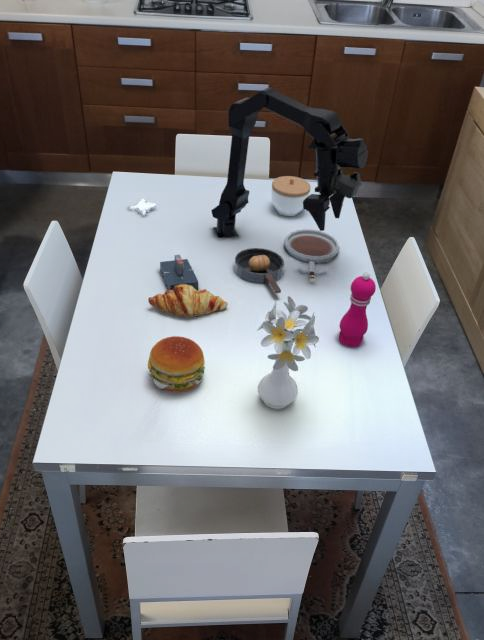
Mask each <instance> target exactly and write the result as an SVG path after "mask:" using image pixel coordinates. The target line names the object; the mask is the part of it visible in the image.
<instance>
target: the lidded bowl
mask: <svg viewBox="0 0 484 640" xmlns="http://www.w3.org/2000/svg"><path fill="white" fill-rule="evenodd" d="M311 188H312V186H311V184H310V182H309V181H307V180H306V179H304V178H302V177H298V176H292V175H283V176H279V177H278V176H277V177H276V178H274V179H273V180H272V182H271V202H272V205H273V207H274V208H275V210H276V211H277V213H278V214H280V215H282V216H285V217H295V216H297V215H298V214H299V213H300V212H302V211H303V210H304V209H303V201H304V200H305V198H307V197H308V196H309V195H310V193H311Z"/></svg>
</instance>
